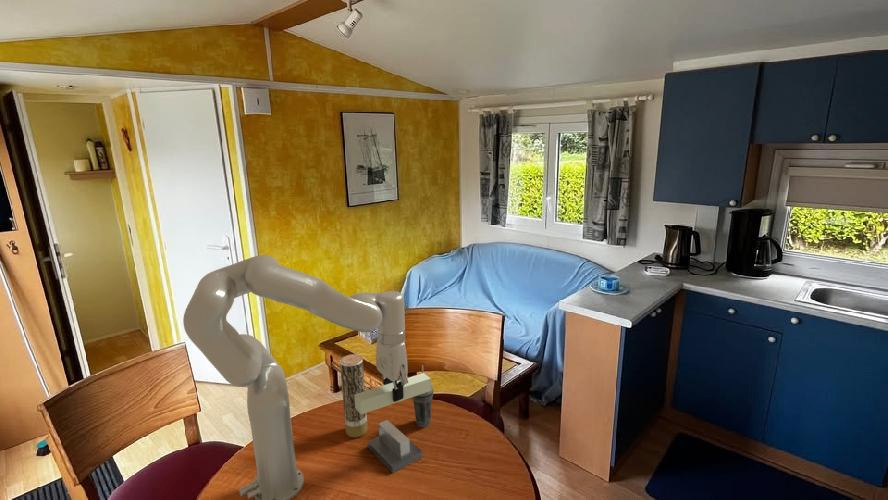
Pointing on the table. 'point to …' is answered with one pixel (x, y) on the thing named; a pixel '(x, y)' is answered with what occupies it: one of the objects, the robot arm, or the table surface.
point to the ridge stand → (393, 447)
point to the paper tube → (353, 385)
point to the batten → (391, 393)
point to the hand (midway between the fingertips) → (393, 395)
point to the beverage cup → (423, 407)
